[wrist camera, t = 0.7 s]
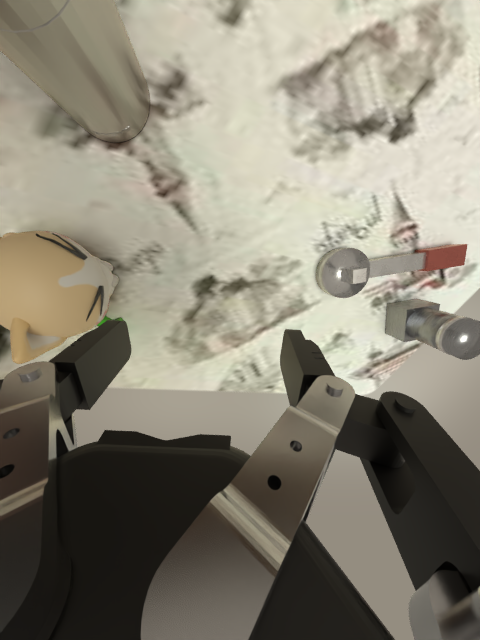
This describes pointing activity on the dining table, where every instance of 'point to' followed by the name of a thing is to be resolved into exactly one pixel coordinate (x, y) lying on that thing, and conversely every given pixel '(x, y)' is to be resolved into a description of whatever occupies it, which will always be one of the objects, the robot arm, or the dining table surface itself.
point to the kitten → (50, 291)
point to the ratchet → (379, 266)
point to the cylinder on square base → (433, 327)
